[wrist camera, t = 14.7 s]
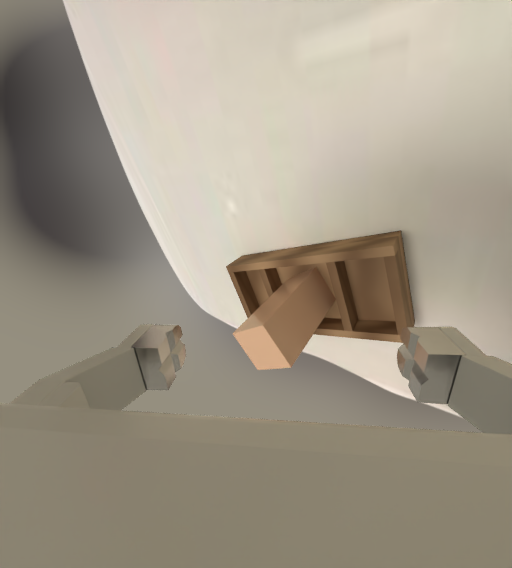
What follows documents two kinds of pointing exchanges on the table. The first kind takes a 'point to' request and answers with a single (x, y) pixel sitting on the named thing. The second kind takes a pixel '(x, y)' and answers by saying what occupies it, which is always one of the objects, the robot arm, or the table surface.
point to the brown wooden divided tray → (339, 283)
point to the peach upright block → (286, 321)
